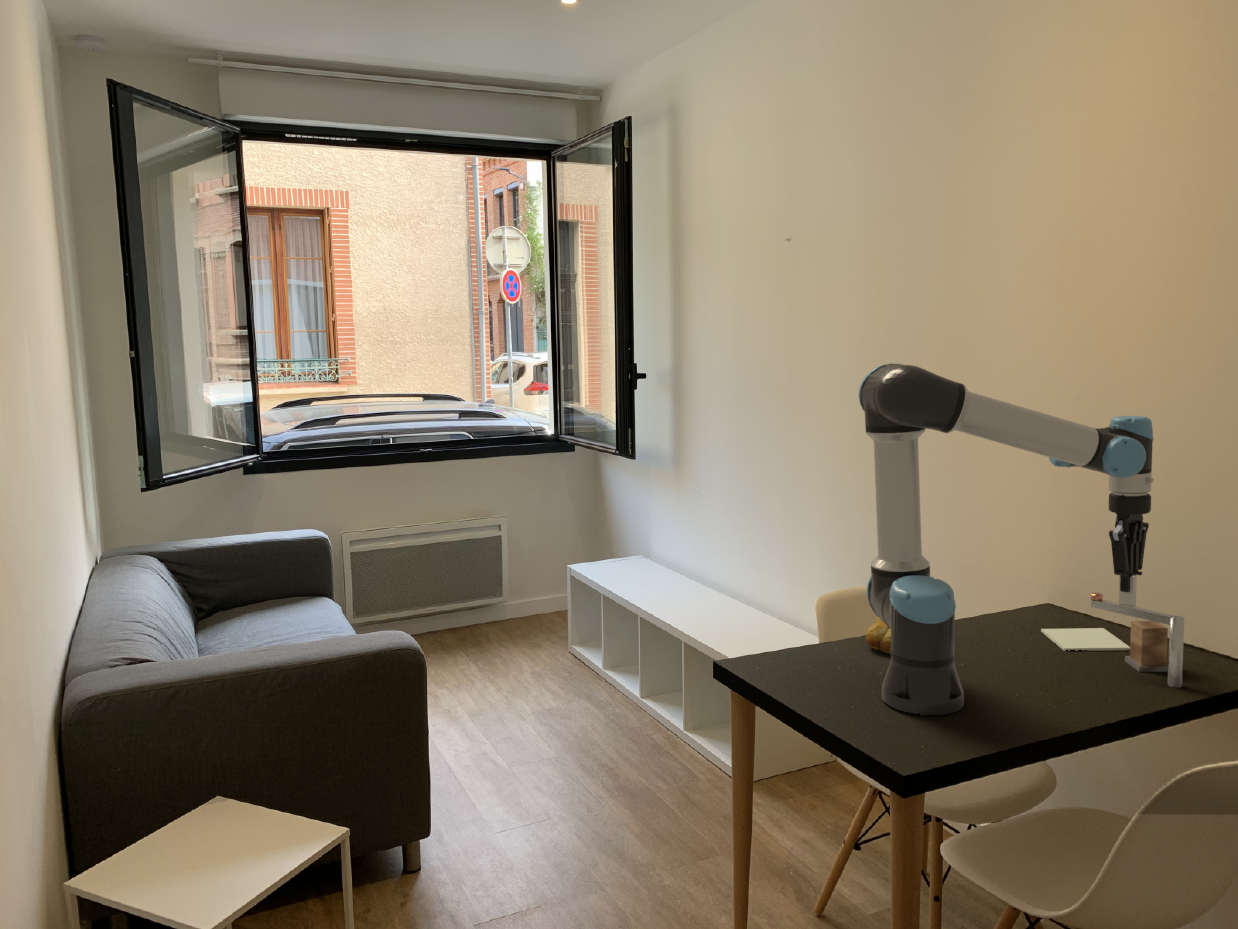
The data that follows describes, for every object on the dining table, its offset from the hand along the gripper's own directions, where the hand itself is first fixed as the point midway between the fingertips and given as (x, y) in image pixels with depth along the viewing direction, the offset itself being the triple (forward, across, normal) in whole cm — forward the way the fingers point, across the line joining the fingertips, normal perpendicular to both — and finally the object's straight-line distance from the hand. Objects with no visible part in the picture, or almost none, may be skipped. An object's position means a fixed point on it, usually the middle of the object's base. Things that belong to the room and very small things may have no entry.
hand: (1127, 606), depth 190 cm
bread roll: (+13, -23, +40) cm, 48 cm away
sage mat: (+13, +12, +14) cm, 23 cm away
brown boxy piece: (+14, +5, -2) cm, 14 cm away
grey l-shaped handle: (+13, -2, -2) cm, 14 cm away
